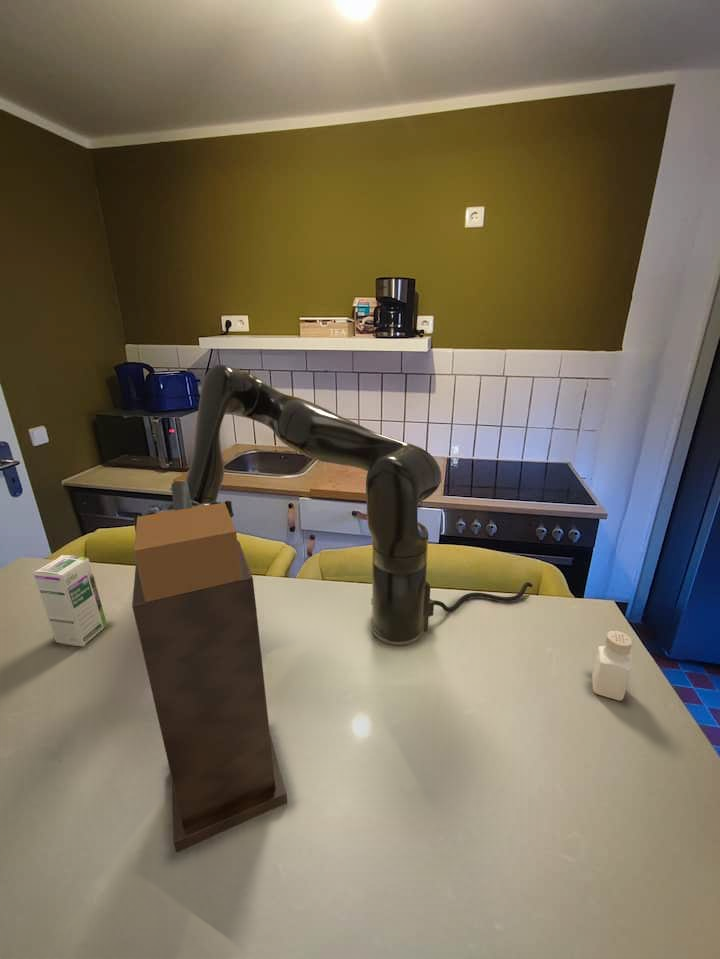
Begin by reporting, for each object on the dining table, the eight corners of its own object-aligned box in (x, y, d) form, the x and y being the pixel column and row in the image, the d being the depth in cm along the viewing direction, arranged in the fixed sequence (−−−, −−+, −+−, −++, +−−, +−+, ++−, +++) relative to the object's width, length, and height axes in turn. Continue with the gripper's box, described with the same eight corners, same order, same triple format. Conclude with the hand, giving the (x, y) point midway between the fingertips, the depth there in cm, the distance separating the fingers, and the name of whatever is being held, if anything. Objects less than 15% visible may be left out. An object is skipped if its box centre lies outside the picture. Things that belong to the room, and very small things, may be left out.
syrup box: (83, 647, 73) (62, 574, 68) (54, 643, 74) (31, 571, 69) (108, 626, 78) (90, 556, 73) (80, 621, 79) (61, 553, 74)
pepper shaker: (620, 683, 65) (634, 633, 62) (623, 703, 62) (637, 651, 58) (591, 675, 67) (602, 625, 63) (592, 694, 63) (604, 642, 60)
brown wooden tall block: (268, 731, 58) (246, 534, 47) (287, 802, 49) (266, 580, 39) (172, 767, 53) (125, 557, 43) (175, 852, 45) (117, 616, 34)
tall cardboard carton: (212, 491, 60) (207, 457, 58) (241, 580, 39) (236, 531, 37) (149, 500, 56) (142, 464, 55) (145, 602, 36) (133, 550, 34)
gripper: (140, 510, 74) (125, 495, 60) (224, 497, 80) (230, 479, 65) (146, 553, 73) (133, 548, 59) (231, 536, 79) (239, 528, 64)
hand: (184, 512), depth 62 cm, fingers open, 8 cm apart
